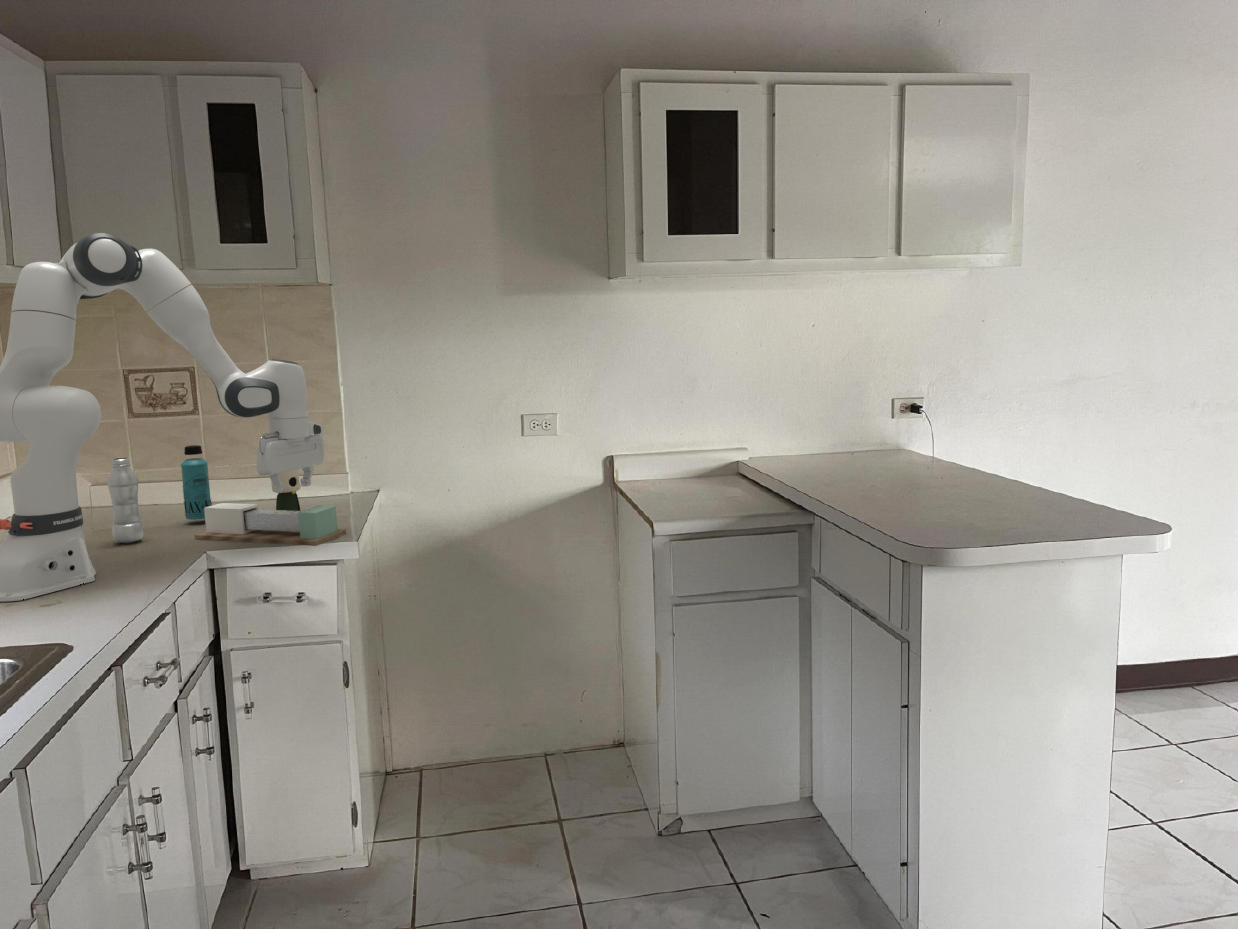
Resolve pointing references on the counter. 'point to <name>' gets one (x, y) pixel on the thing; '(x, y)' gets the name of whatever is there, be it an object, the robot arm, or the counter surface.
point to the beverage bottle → (195, 484)
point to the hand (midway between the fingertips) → (293, 489)
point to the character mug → (288, 492)
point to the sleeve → (227, 518)
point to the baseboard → (269, 537)
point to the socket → (317, 522)
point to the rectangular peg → (272, 520)
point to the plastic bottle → (124, 502)
